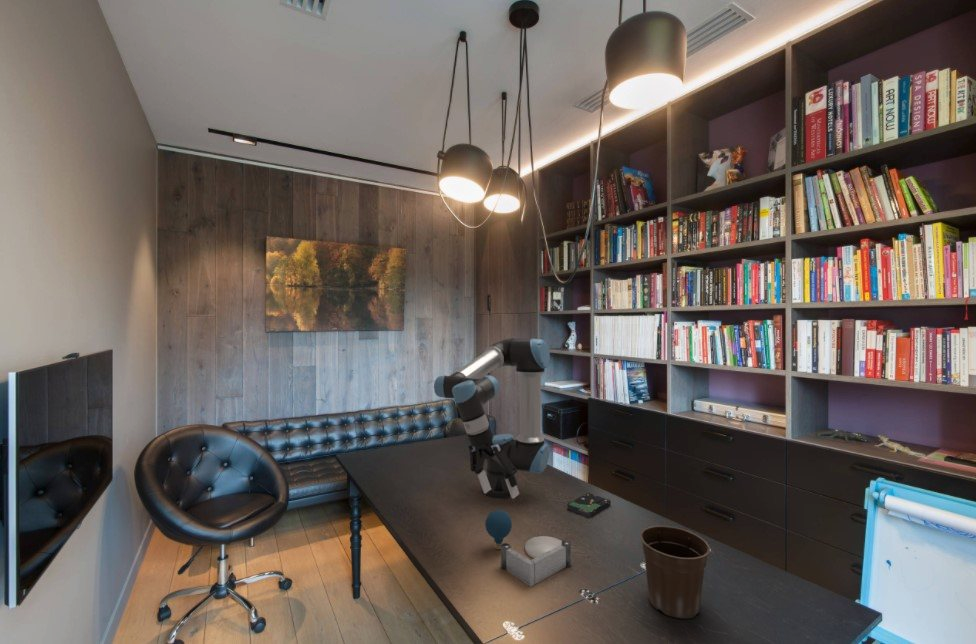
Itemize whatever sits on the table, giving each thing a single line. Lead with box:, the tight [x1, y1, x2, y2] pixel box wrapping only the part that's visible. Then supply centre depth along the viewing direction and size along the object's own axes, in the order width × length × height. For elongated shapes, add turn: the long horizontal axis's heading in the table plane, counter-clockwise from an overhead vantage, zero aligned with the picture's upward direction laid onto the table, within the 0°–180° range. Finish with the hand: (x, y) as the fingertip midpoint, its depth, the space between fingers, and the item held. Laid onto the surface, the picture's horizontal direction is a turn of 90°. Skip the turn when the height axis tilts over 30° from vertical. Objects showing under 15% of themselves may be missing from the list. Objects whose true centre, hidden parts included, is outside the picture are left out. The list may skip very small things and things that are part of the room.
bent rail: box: [500, 539, 572, 588], centre depth 125 cm, size 18×13×6 cm
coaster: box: [524, 535, 563, 559], centre depth 133 cm, size 13×13×1 cm
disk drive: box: [567, 492, 612, 519], centre depth 163 cm, size 10×3×15 cm
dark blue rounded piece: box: [485, 509, 513, 550], centre depth 134 cm, size 8×8×12 cm
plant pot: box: [639, 525, 711, 620], centre depth 108 cm, size 16×16×16 cm
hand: (501, 493), depth 132 cm, fingers open, 13 cm apart
